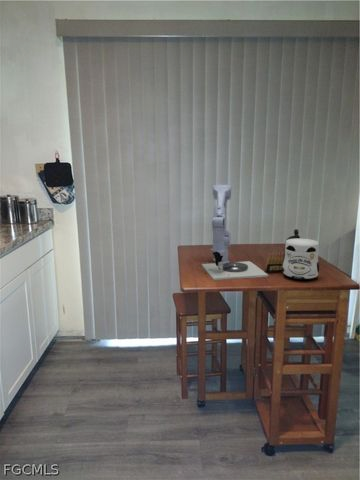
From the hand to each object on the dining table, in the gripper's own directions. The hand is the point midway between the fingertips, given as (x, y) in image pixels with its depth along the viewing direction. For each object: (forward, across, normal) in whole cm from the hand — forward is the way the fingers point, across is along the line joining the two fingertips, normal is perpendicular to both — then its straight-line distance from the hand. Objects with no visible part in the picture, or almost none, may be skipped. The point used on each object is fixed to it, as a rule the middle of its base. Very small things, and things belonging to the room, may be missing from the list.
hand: (218, 265), depth 193 cm
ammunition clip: (+4, +5, +29) cm, 30 cm away
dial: (+3, -1, +8) cm, 8 cm away
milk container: (+4, +16, +37) cm, 41 cm away
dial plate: (+4, -2, +9) cm, 10 cm away
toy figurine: (+4, -23, +54) cm, 59 cm away
